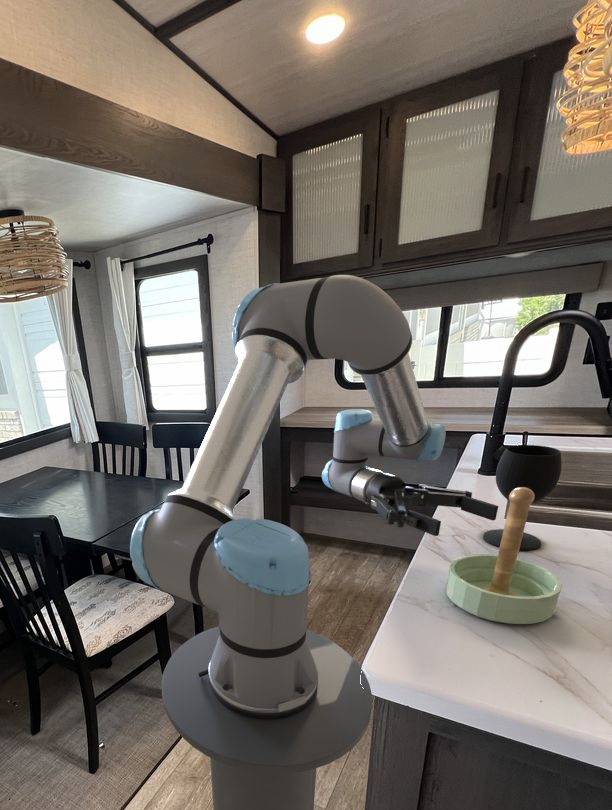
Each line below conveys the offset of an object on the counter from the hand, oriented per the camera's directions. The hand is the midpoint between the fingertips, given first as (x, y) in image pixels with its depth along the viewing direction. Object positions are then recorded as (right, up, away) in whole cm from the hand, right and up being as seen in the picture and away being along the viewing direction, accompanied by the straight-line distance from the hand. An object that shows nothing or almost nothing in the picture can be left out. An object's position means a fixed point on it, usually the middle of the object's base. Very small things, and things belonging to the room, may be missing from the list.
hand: (467, 520), depth 83 cm
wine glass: (+21, -4, +18) cm, 28 cm away
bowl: (+4, -14, -2) cm, 15 cm away
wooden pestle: (+4, -14, -2) cm, 14 cm away
